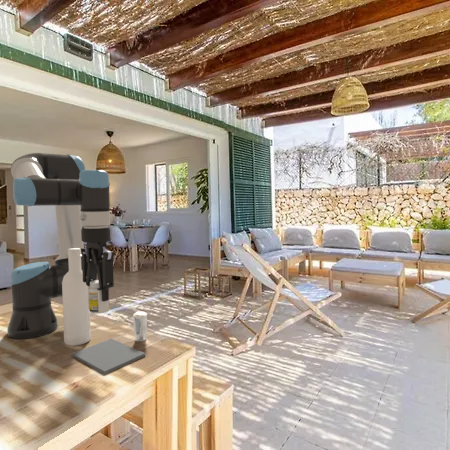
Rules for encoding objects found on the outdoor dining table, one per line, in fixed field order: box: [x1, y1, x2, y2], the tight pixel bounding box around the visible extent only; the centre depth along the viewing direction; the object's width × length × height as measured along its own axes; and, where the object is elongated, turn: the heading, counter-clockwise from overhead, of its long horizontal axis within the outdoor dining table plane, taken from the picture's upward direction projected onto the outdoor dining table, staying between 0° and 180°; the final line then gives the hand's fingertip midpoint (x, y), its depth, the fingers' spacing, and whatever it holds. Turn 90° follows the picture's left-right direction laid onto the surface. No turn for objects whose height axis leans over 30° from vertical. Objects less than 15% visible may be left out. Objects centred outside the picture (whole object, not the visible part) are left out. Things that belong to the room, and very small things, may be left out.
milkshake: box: [132, 309, 150, 343], centre depth 107 cm, size 5×5×10 cm
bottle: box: [62, 248, 92, 347], centre depth 106 cm, size 8×8×30 cm
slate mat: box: [71, 338, 146, 375], centre depth 96 cm, size 17×13×1 cm
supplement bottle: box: [89, 279, 100, 314], centre depth 92 cm, size 5×5×8 cm
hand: (98, 309), depth 92 cm, fingers closed on supplement bottle, 5 cm apart
